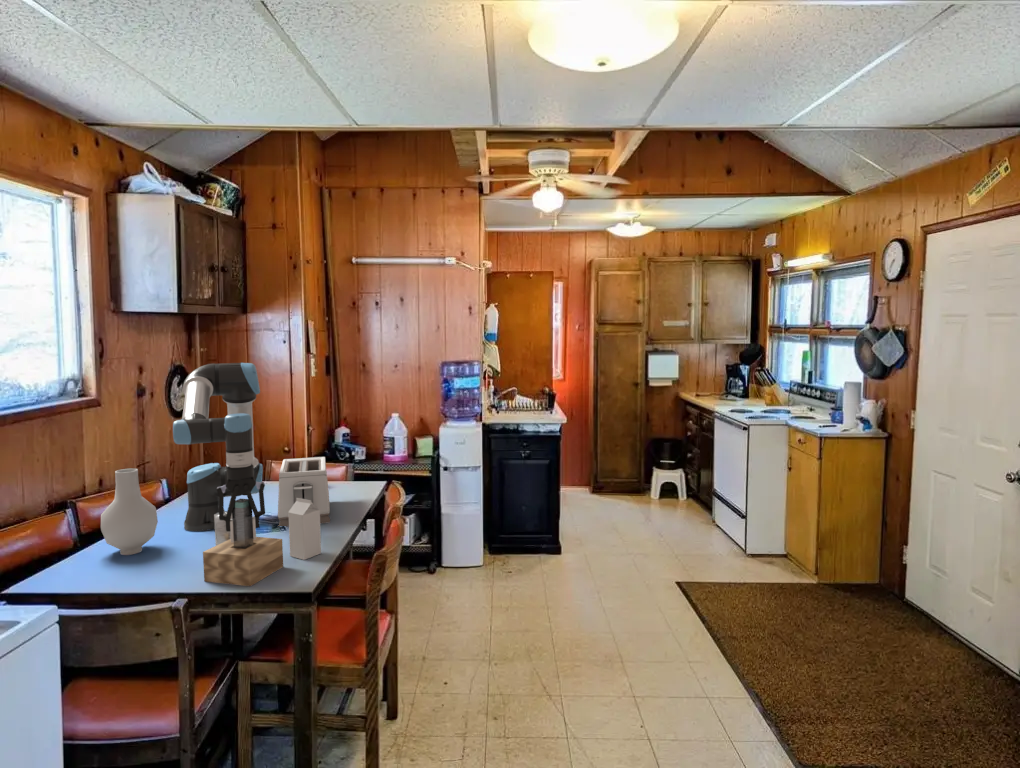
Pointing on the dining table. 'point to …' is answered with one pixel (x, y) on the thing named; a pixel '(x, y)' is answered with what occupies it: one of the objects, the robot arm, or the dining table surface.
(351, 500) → the dining table surface
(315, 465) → the toaster
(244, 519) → the square bit
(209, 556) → the socket block
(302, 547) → the milk carton
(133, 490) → the vase
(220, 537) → the round bit
